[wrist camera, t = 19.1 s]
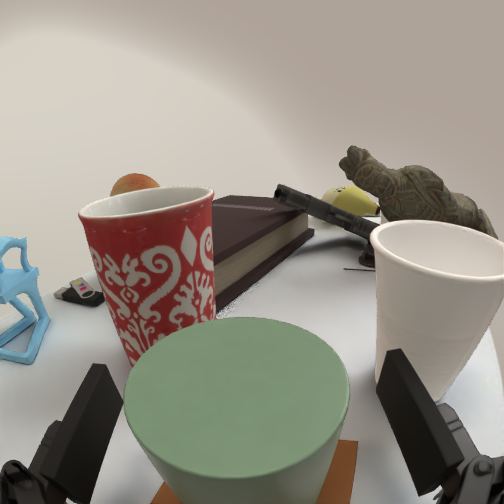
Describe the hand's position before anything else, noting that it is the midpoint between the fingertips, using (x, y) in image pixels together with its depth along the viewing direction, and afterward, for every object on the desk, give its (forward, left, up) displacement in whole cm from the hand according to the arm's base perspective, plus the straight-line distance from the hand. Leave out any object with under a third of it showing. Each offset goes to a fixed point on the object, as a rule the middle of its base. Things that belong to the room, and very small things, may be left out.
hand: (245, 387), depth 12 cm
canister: (-1, +3, -6) cm, 7 cm away
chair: (+27, -2, -7) cm, 28 cm away
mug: (+10, -7, -7) cm, 14 cm away
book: (+15, -30, -6) cm, 34 cm away
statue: (-29, -41, -5) cm, 50 cm away
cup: (-10, -8, -7) cm, 14 cm away
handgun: (-8, -29, -1) cm, 30 cm away
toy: (+3, -55, -4) cm, 55 cm away
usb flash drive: (+27, -13, -5) cm, 31 cm away
